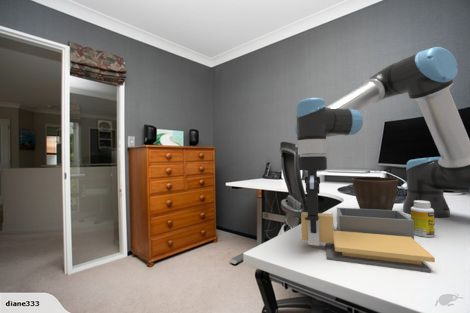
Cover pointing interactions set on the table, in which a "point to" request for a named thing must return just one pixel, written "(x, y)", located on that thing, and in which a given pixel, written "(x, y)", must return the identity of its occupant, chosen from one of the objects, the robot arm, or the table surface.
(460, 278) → the table surface
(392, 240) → the amber lid
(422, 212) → the supplement bottle
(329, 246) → the grey rubber mat
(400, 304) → the table surface
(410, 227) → the charcoal tub
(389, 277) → the table surface
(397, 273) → the table surface
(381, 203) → the plant pot
